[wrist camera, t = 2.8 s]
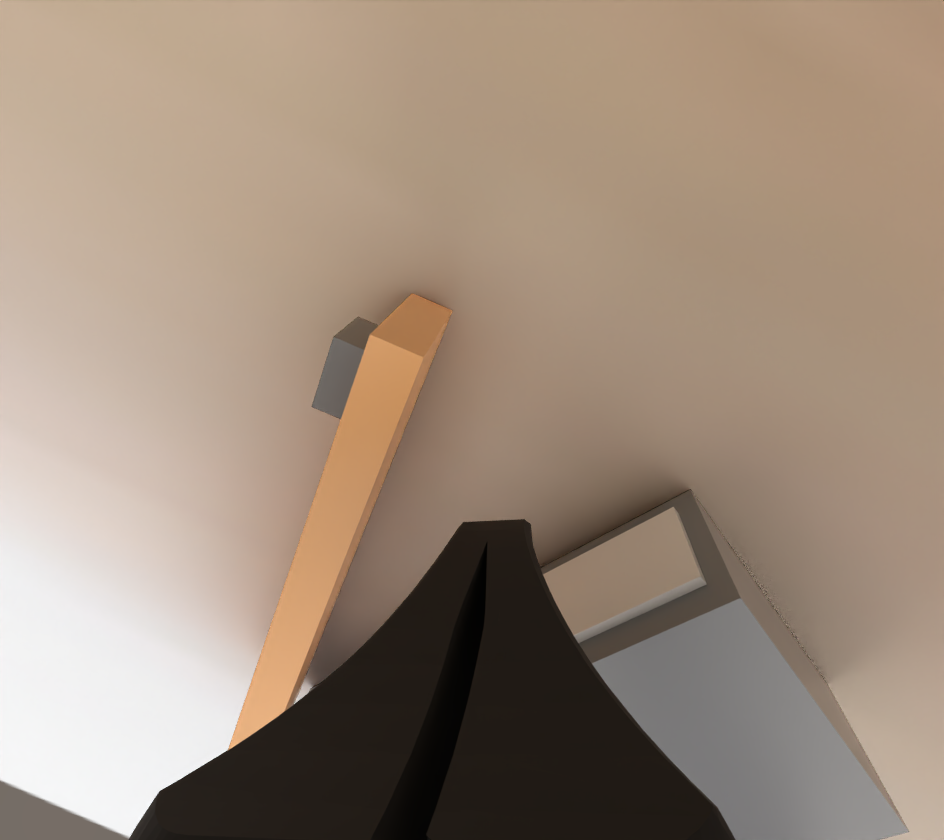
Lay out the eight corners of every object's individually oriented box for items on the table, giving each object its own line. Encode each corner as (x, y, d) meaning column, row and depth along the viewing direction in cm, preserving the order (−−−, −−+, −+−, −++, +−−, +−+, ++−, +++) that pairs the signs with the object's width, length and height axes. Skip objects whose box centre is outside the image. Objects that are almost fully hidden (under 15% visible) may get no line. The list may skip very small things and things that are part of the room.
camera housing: (846, 711, 17) (929, 860, 13) (475, 840, 21) (462, 977, 18) (685, 482, 14) (734, 588, 11) (305, 683, 19) (250, 806, 15)
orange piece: (452, 310, 13) (423, 357, 10) (298, 693, 19) (249, 800, 16) (379, 278, 13) (326, 315, 10) (247, 673, 19) (187, 777, 15)
